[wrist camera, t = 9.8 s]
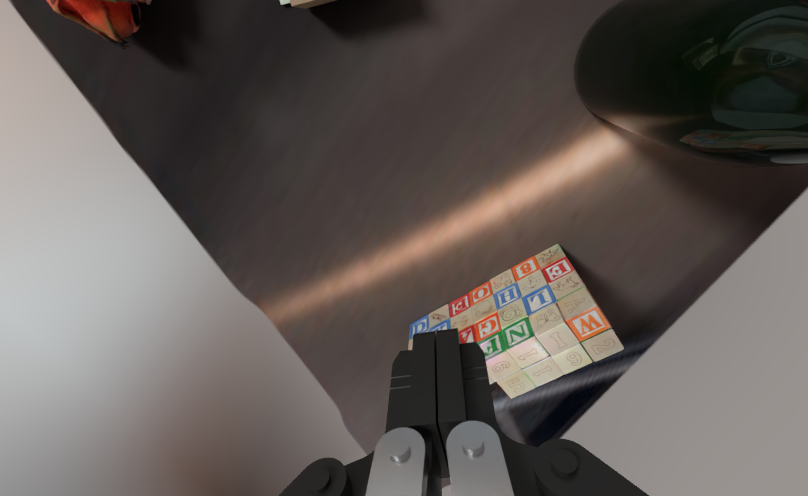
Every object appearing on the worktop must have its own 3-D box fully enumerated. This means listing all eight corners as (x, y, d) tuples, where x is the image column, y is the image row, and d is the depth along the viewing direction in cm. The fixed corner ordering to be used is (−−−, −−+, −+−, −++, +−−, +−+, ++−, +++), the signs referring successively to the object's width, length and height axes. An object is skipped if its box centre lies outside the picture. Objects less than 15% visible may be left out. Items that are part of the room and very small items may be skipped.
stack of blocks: (435, 352, 55) (437, 431, 44) (409, 323, 53) (404, 399, 42) (582, 278, 48) (627, 351, 37) (558, 241, 46) (599, 306, 35)
